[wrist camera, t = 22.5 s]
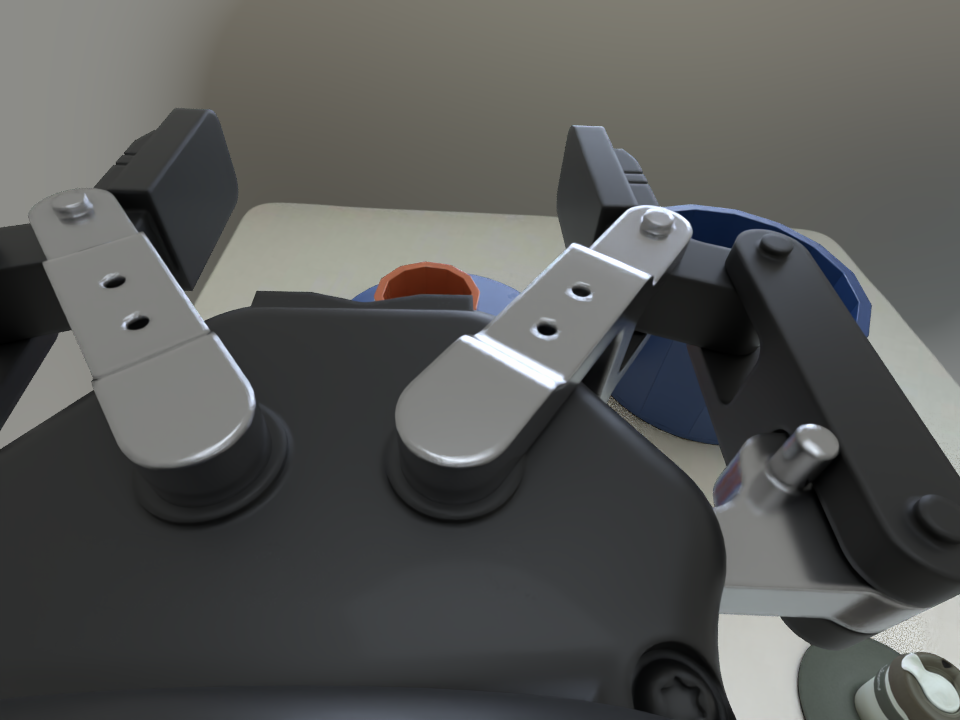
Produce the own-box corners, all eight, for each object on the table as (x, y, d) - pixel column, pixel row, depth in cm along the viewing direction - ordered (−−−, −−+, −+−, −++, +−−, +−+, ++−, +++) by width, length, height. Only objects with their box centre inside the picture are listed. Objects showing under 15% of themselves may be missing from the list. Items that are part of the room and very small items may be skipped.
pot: (584, 426, 38) (612, 343, 32) (585, 275, 50) (605, 193, 44) (836, 462, 37) (916, 383, 31) (775, 299, 49) (824, 219, 43)
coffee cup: (996, 961, 21) (1111, 985, 17) (715, 719, 26) (758, 698, 23) (1030, 700, 27) (1119, 677, 24) (798, 546, 33) (843, 509, 29)
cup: (378, 430, 35) (362, 321, 28) (399, 367, 39) (390, 256, 32) (464, 443, 35) (470, 336, 28) (477, 378, 39) (485, 268, 32)
